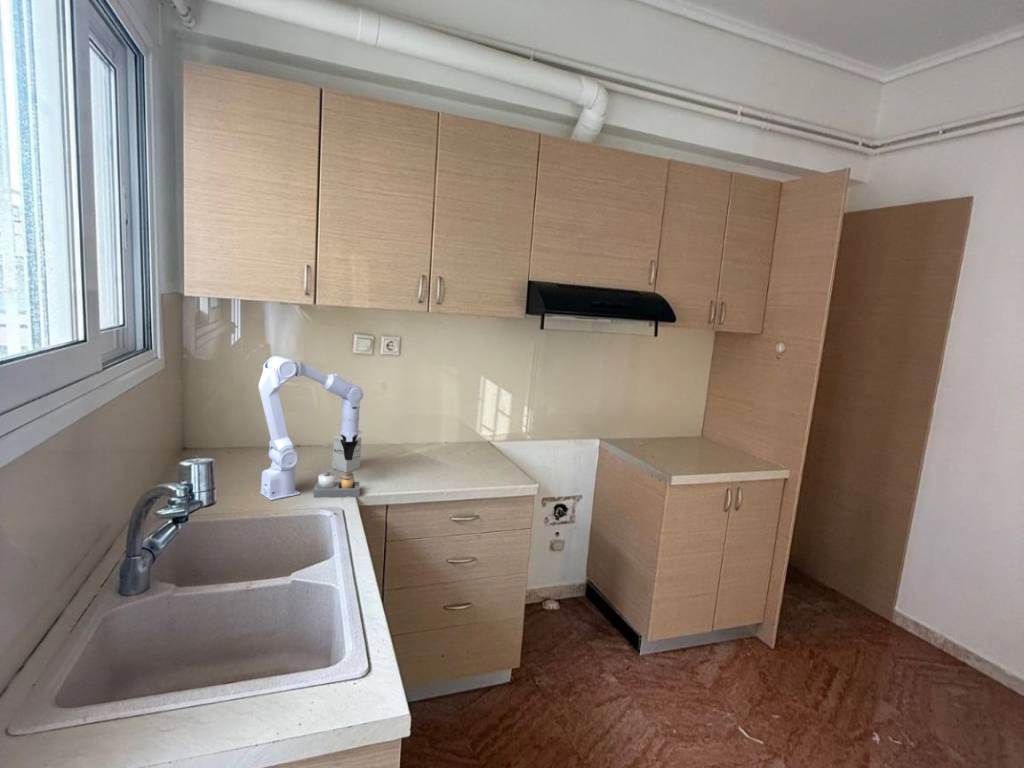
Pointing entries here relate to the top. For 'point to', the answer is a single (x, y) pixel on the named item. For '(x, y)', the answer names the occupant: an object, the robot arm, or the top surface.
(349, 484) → the small orange jar
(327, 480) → the tray
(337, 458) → the supplement box
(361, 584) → the top surface
